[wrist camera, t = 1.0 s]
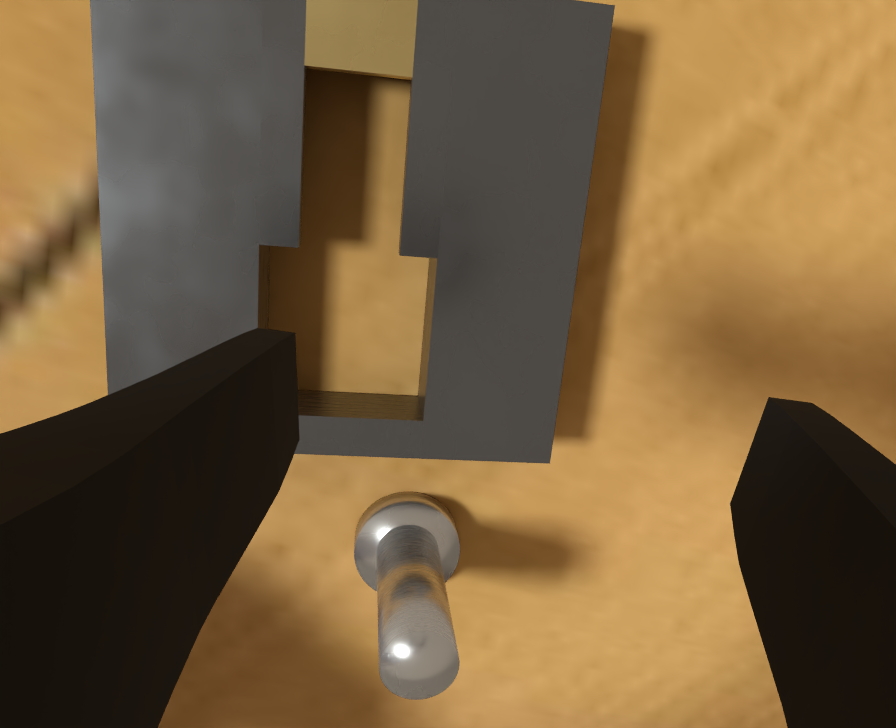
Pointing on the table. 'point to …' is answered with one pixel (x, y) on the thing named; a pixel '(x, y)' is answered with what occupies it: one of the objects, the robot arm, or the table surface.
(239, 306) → the keyhole plate
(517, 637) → the table surface
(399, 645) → the steel peg
